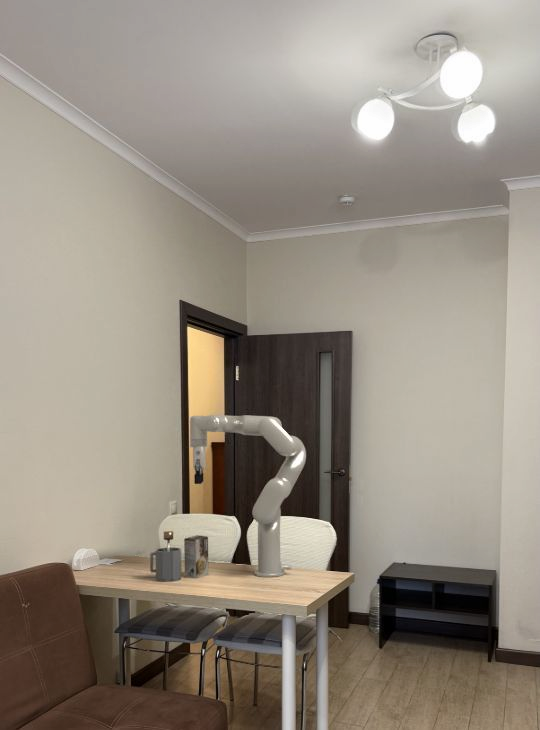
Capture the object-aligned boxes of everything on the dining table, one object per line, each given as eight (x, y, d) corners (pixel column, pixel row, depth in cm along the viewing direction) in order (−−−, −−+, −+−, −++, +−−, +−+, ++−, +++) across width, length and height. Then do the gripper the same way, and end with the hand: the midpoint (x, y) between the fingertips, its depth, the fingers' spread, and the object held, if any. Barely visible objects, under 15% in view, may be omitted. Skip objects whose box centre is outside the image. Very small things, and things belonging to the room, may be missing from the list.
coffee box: (196, 573, 299) (196, 535, 300) (209, 574, 296) (208, 536, 297) (183, 577, 291) (183, 538, 293) (196, 578, 288) (195, 539, 289)
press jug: (182, 576, 293) (182, 547, 294) (179, 581, 283) (179, 551, 284) (152, 576, 293) (152, 547, 294) (148, 582, 283) (148, 552, 284)
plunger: (179, 570, 292) (179, 530, 294) (177, 574, 284) (177, 533, 286) (160, 570, 292) (160, 530, 294) (157, 574, 284) (157, 533, 286)
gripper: (206, 444, 298) (206, 484, 296) (208, 443, 315) (208, 481, 313) (188, 444, 298) (188, 484, 296) (191, 443, 315) (192, 481, 313)
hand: (199, 482), depth 305 cm, fingers open, 9 cm apart
